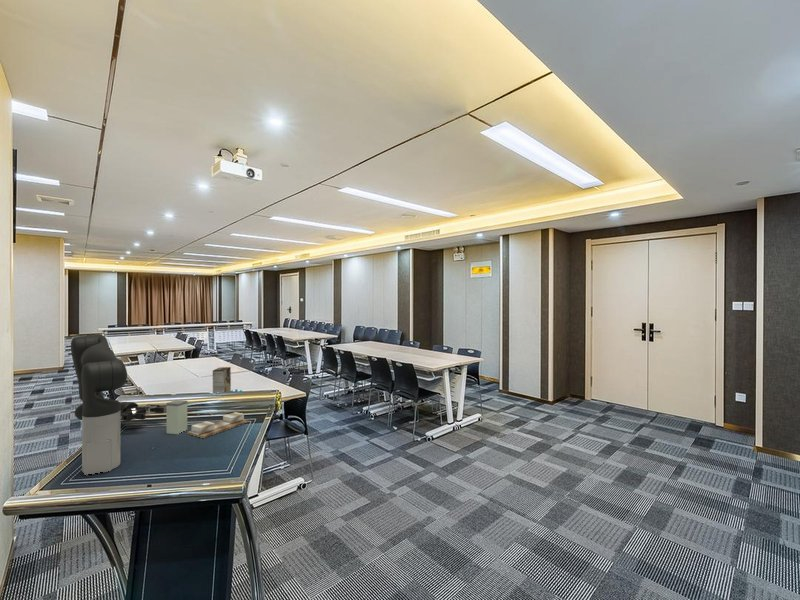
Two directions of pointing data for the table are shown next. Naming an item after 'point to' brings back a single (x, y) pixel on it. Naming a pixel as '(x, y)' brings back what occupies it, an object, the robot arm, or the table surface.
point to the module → (176, 416)
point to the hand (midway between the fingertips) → (154, 413)
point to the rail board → (217, 425)
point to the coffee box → (222, 379)
